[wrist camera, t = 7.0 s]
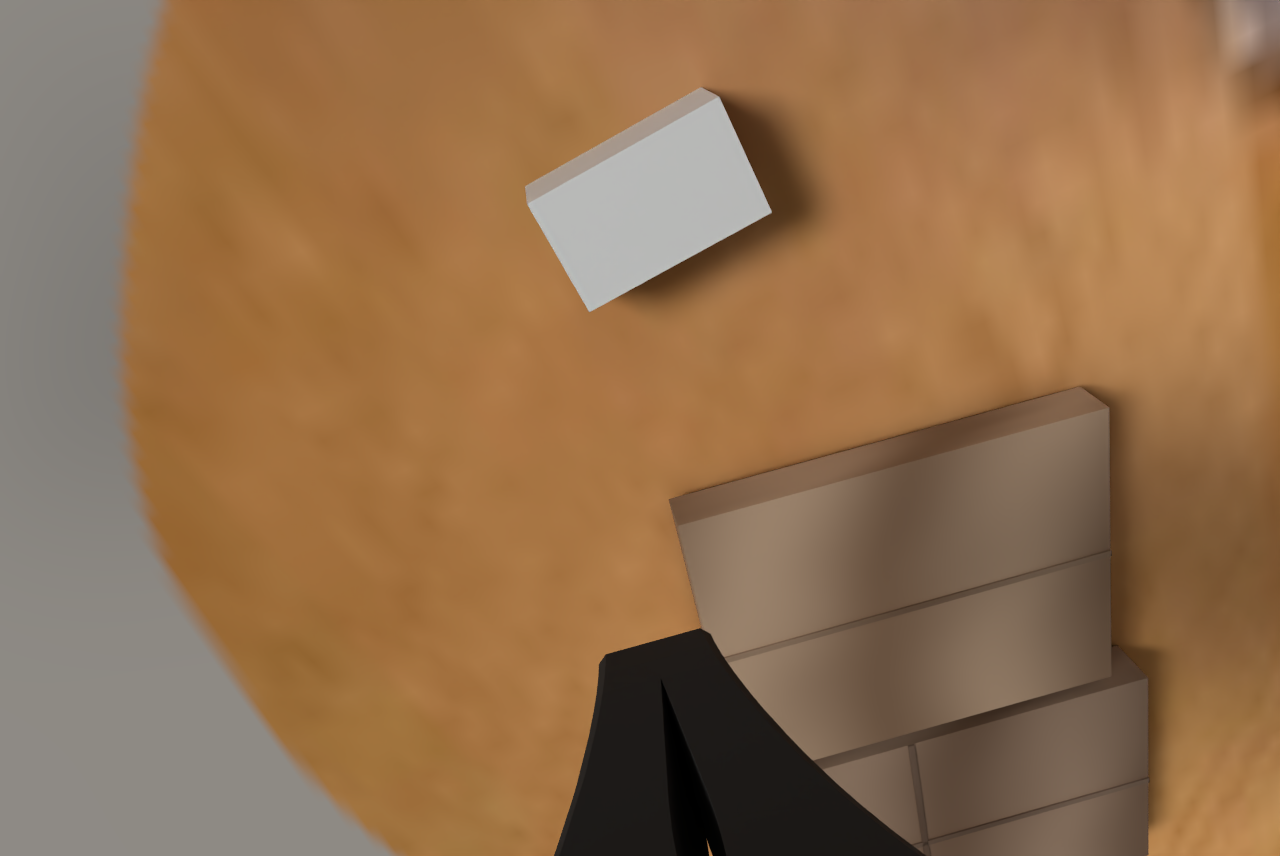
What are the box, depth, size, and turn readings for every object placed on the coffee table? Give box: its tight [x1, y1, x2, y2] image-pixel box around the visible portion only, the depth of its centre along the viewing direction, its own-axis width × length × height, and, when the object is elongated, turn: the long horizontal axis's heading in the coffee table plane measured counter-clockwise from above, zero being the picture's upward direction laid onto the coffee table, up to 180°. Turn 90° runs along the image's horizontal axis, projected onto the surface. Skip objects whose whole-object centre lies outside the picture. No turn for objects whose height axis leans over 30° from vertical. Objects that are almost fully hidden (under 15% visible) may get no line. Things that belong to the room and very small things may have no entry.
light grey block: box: [525, 87, 772, 312], centre depth 19 cm, size 4×2×2 cm, turn 117°
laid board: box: [813, 645, 1149, 856], centre depth 27 cm, size 10×7×1 cm
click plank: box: [669, 387, 1112, 760], centre depth 24 cm, size 10×8×1 cm
